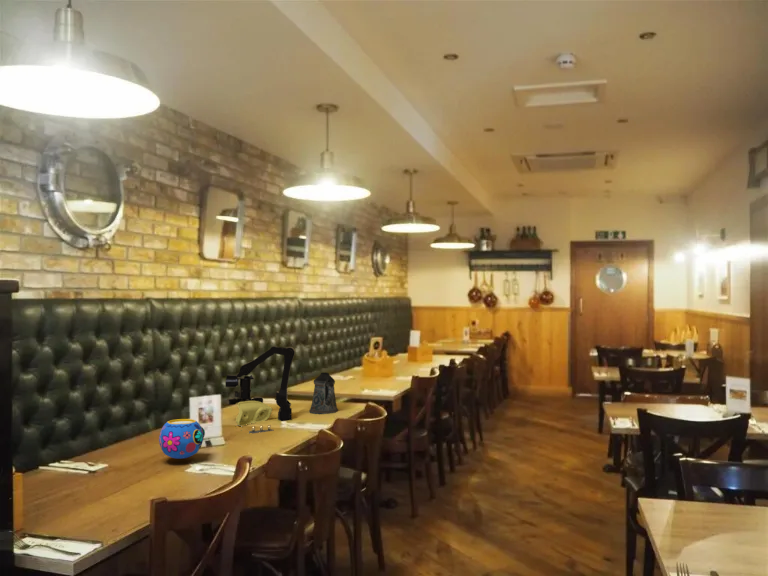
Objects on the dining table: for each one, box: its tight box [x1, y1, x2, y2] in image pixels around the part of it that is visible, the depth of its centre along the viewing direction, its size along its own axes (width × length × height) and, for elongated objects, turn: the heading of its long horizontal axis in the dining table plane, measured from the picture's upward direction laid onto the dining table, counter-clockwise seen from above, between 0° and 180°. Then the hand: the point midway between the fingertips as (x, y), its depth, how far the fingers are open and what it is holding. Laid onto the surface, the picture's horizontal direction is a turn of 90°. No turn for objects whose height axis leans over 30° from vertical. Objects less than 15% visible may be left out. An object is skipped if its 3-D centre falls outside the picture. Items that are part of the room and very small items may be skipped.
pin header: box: [248, 424, 274, 434], centre depth 322 cm, size 12×2×3 cm, turn 117°
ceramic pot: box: [158, 418, 206, 460], centre depth 268 cm, size 18×18×15 cm
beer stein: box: [308, 372, 339, 415], centre depth 371 cm, size 16×19×25 cm
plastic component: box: [235, 401, 273, 427], centre depth 345 cm, size 20×7×10 cm, turn 138°
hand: (244, 416), depth 349 cm, fingers closed
